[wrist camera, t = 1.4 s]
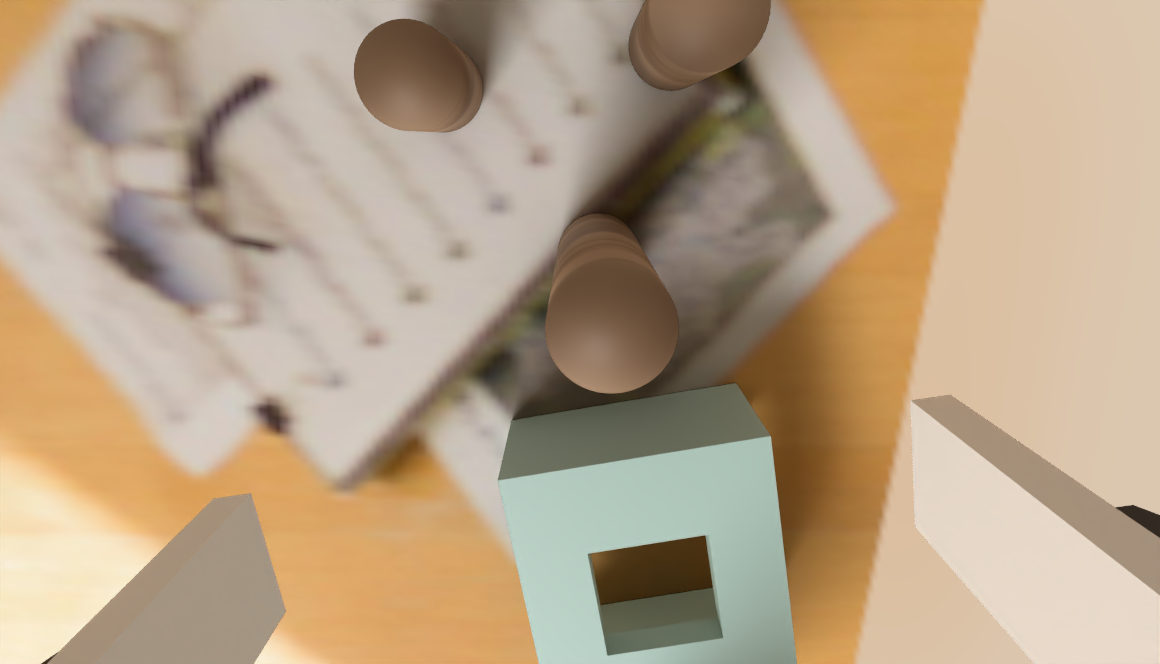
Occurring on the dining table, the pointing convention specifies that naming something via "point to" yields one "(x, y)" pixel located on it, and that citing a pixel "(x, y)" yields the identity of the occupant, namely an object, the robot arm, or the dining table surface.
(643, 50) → the pin medium
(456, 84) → the pin short
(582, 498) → the bridge
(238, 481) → the dining table surface
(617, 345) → the pin long
